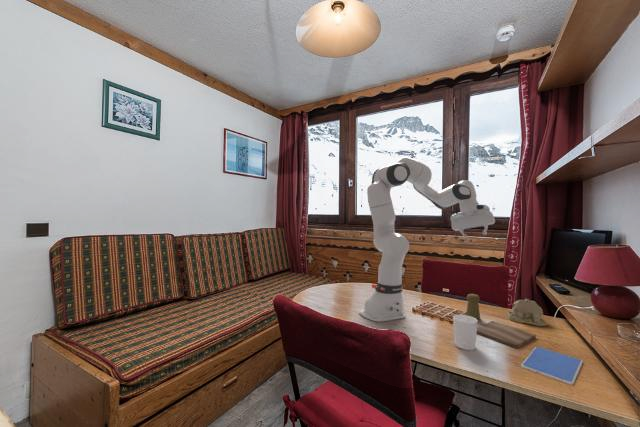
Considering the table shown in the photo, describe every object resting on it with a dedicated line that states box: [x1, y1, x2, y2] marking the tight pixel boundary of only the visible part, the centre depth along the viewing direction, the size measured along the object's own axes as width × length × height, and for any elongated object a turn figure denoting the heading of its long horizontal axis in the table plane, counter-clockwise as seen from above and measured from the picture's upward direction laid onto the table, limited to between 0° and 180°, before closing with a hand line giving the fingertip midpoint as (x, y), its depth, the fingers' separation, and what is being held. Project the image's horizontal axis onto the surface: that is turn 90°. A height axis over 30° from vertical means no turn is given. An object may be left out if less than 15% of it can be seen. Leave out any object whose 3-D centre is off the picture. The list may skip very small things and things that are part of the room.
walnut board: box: [477, 320, 537, 349], centre depth 111 cm, size 16×16×1 cm
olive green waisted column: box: [465, 293, 481, 322], centre depth 129 cm, size 6×6×11 cm
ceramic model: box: [506, 298, 548, 327], centre depth 126 cm, size 14×11×10 cm
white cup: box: [452, 314, 479, 351], centre depth 102 cm, size 8×8×10 cm
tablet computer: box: [520, 346, 583, 386], centre depth 90 cm, size 19×13×1 cm, turn 130°
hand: (474, 235), depth 143 cm, fingers open, 8 cm apart
